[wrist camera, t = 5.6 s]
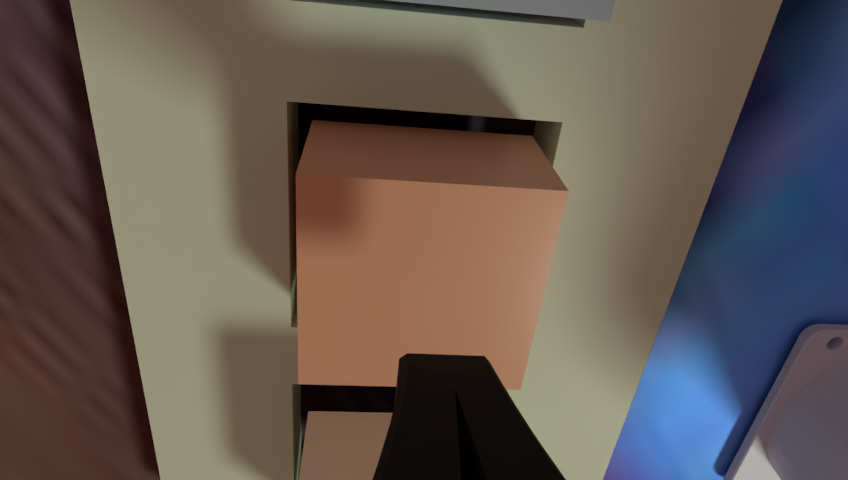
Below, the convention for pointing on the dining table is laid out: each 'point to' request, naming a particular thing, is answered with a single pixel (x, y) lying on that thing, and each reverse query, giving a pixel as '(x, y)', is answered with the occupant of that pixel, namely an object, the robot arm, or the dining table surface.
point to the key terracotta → (420, 249)
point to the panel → (413, 91)
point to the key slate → (536, 7)
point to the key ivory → (343, 445)
